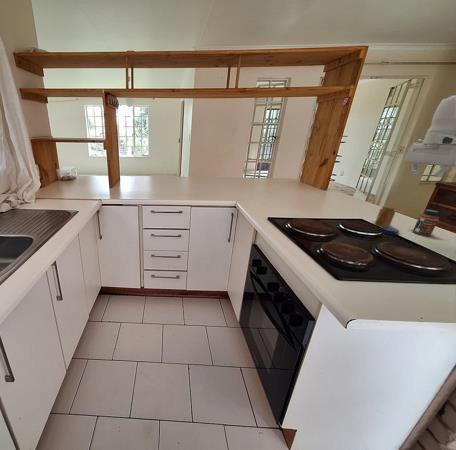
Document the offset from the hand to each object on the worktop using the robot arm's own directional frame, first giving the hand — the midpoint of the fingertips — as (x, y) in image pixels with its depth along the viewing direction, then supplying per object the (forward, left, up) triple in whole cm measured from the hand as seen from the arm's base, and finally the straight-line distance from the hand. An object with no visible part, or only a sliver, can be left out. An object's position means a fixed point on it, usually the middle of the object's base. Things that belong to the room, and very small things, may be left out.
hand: (425, 175), depth 97 cm
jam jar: (-4, -15, -27) cm, 31 cm away
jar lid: (+2, -3, -26) cm, 26 cm away
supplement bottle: (-14, -5, -27) cm, 31 cm away
